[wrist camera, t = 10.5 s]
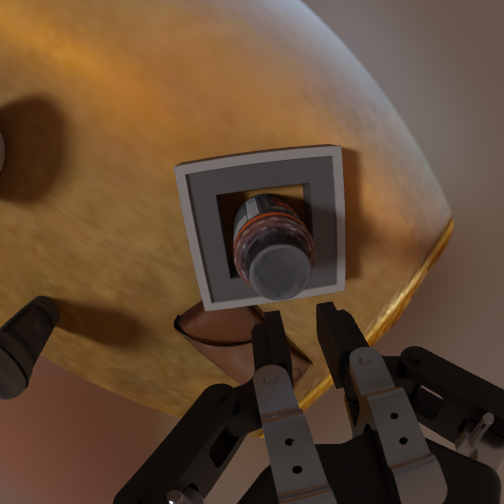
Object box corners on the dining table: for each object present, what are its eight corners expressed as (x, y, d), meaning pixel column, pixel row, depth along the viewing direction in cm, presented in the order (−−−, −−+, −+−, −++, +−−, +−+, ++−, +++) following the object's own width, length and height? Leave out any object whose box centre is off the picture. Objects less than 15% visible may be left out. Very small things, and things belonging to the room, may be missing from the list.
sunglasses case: (318, 364, 36) (305, 408, 32) (279, 368, 41) (264, 407, 36) (228, 275, 30) (199, 326, 26) (191, 290, 35) (164, 333, 30)
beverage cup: (29, 322, 32) (-39, 420, 13) (23, 279, 29) (-66, 377, 11) (69, 338, 33) (7, 452, 15) (65, 295, 30) (-19, 415, 12)
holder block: (180, 162, 26) (173, 166, 23) (329, 144, 26) (341, 145, 23) (207, 294, 31) (205, 311, 28) (335, 275, 31) (344, 290, 28)
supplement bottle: (306, 213, 28) (346, 261, 18) (272, 260, 30) (291, 328, 20) (255, 179, 27) (269, 210, 16) (221, 231, 29) (215, 289, 18)
